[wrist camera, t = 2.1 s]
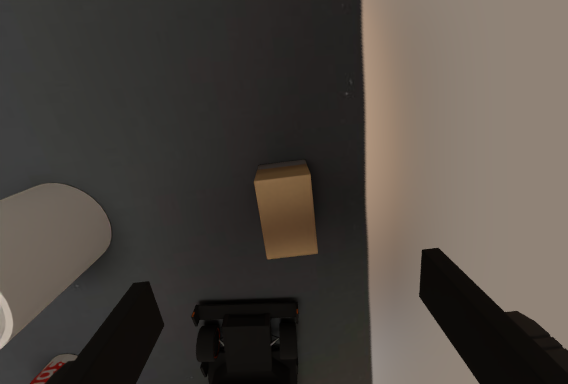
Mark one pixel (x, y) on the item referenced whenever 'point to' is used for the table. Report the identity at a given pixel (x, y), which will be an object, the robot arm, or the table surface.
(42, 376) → the beverage cup
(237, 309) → the toy truck
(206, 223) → the table surface
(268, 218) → the eraser
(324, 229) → the table surface
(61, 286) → the cup
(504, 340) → the robot arm
